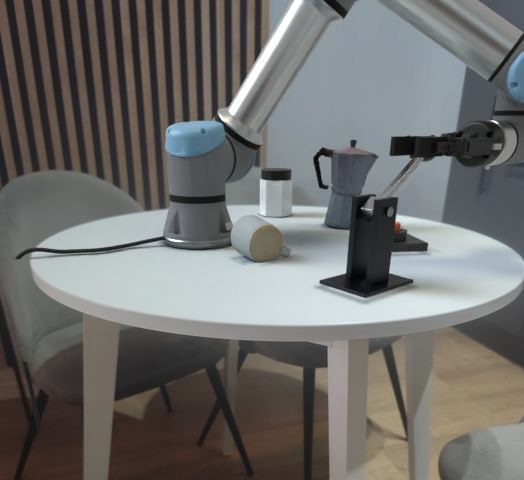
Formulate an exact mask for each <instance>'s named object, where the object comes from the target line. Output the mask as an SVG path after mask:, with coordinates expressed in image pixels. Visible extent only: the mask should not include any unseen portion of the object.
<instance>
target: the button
mask: <svg viewBox="0 0 524 480" xmlns="http://www.w3.org/2000/svg"><path fill="white" fill-rule="evenodd" d="M400 228H401V222H399V221H395V230H394V232H399V231H400Z"/></svg>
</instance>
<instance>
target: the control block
mask: <svg viewBox="0 0 524 480" xmlns="http://www.w3.org/2000/svg"><path fill="white" fill-rule="evenodd" d="M428 247H429V242H427V241H425V240H422V239H420V238H418V237H416V236H414V235H412V234H410V233H408V229H406V228H404V227H400V231H399V232H394V238H393V246H392V253H401V252H404V253H405V252H406V253H407V252H428Z"/></svg>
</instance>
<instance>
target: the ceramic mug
mask: <svg viewBox="0 0 524 480" xmlns="http://www.w3.org/2000/svg"><path fill="white" fill-rule="evenodd" d="M231 243H232V244H231V245H232V248H233V250H235V252H237V253H239V254H240V255H242V256H243V257H246V258H248V259H250V260H252V261H253V262H256V263H264V262H268V261H269V262H270V261H273V260H276V258H277V257H278V256H279V255H280V256H283V257H285V258H287V257H290V255H291V253H292V249H291V248H289V247H287V246H284V239H283V235H282V232H281V231H280V230H279V229H278V227H277V226H275V224H273V223H271V222H269V221H267V220H265V219H263V218H261V217H259V216H258V215H256V214H245V215H243V216H241V217H239V218H238V219H237V220H236V221H235V222H234V224H233V227H232V230H231Z"/></svg>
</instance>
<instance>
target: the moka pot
mask: <svg viewBox="0 0 524 480" xmlns="http://www.w3.org/2000/svg"><path fill="white" fill-rule="evenodd" d="M357 142H358V141H357V140H356V139H350V140H349V145H350V146H348V147H345V148H339V149H335V148H334V149H332V148H326V147H323V146H322V147H321V148H320V149H319V150H318V151H317V152H316V153H315V154H314V155H313V157H312V162H313V166H314V171H315V175H316V178H317V179H316V180H317V185H318V188H319V189H322V190H328V189H329V188H331V194H330V198H329V201H328V202H329V203H328V206H327V210H326V213H325V218H324V221H323V224H324V225H325V226H329V227H332V228H336V229H347V230H350V220H351V208H352V196H357V195H362V193H363V187H365V185H366V181H367V176H368V175H369V173H370V171H371V170H372V168H373V166H374V165H375V163H376V161H377V160H378V159H380V156H379V155H377V154H376V153H375V152H372V151H371V152H370V151H367V150H363V149H361V148H358V147H356V146H357ZM321 157H325V158H330V160H331V162H330V163H331V164H330V166H331V168H330V169H331V172H330V173H331V175H330V176H331V178H330V181H331V183H330V184H332V186H331V187H330V186H329V184H328V185H327V184H324V183H323V179H322V171H321V165H320V160H319V159H320V158H321Z"/></svg>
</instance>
